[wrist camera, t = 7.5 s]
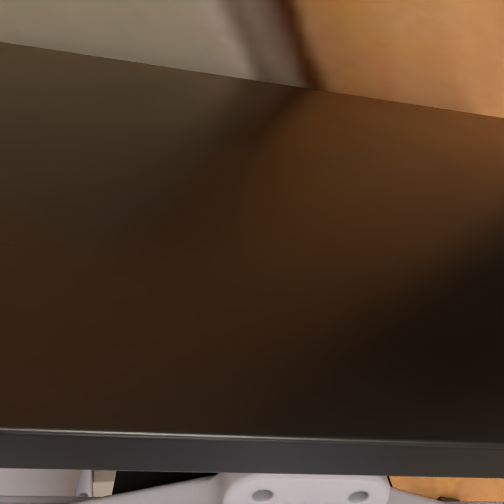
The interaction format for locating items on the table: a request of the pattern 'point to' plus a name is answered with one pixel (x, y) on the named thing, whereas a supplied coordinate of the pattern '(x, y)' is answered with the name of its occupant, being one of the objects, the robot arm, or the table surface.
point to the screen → (244, 276)
